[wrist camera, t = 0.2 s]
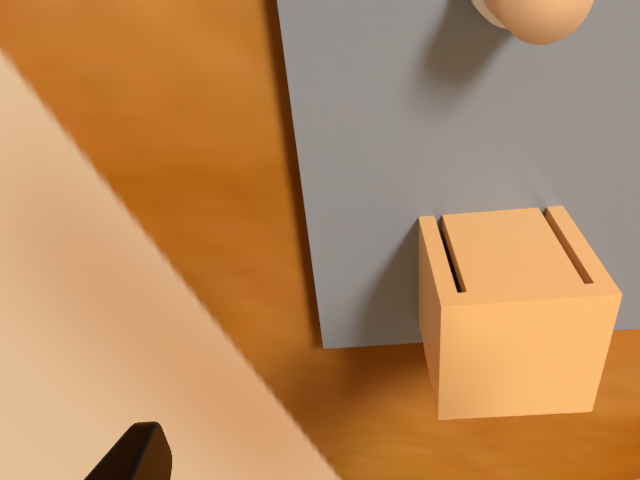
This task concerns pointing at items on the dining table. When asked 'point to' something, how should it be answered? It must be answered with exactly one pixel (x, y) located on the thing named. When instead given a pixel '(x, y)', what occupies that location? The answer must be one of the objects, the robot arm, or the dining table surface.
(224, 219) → the dining table surface
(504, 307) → the orange grooved cube
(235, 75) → the dining table surface
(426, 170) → the grey base plate
